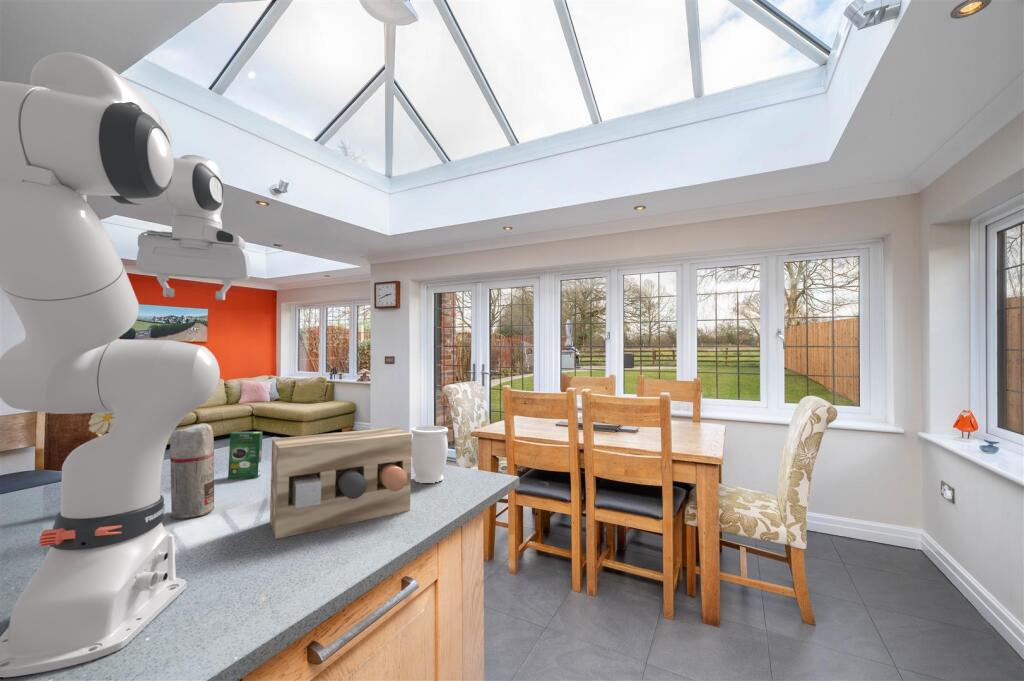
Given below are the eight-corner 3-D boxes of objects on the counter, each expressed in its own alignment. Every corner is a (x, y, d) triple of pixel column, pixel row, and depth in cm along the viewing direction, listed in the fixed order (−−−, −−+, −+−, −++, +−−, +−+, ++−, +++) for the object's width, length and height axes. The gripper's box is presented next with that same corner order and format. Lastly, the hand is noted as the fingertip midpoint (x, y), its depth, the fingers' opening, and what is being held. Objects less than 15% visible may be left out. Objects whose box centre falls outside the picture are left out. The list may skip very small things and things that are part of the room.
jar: (454, 477, 128) (455, 427, 129) (433, 487, 119) (434, 433, 119) (424, 473, 133) (425, 423, 133) (402, 482, 123) (403, 429, 124)
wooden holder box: (410, 510, 102) (411, 433, 103) (276, 538, 86) (278, 447, 86) (394, 497, 110) (396, 427, 111) (269, 521, 94) (272, 438, 94)
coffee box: (262, 475, 128) (263, 430, 128) (258, 478, 125) (260, 432, 125) (231, 476, 126) (233, 431, 126) (227, 479, 123) (228, 433, 123)
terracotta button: (407, 489, 98) (407, 466, 98) (385, 493, 95) (385, 470, 95) (398, 483, 102) (399, 461, 102) (377, 486, 99) (378, 464, 99)
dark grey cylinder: (366, 496, 92) (367, 472, 93) (342, 500, 90) (343, 476, 90) (359, 490, 97) (360, 467, 97) (336, 494, 94) (337, 470, 94)
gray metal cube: (320, 503, 87) (321, 480, 87) (295, 508, 84) (296, 484, 85) (315, 496, 91) (316, 474, 91) (291, 500, 89) (291, 478, 89)
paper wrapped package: (190, 522, 93) (193, 429, 94) (159, 518, 95) (162, 426, 95) (223, 508, 102) (226, 422, 102) (194, 504, 103) (197, 420, 104)
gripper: (131, 225, 88) (128, 293, 88) (247, 237, 95) (244, 300, 95) (145, 232, 94) (142, 296, 94) (253, 243, 101) (250, 302, 101)
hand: (194, 298), depth 94 cm, fingers open, 8 cm apart
